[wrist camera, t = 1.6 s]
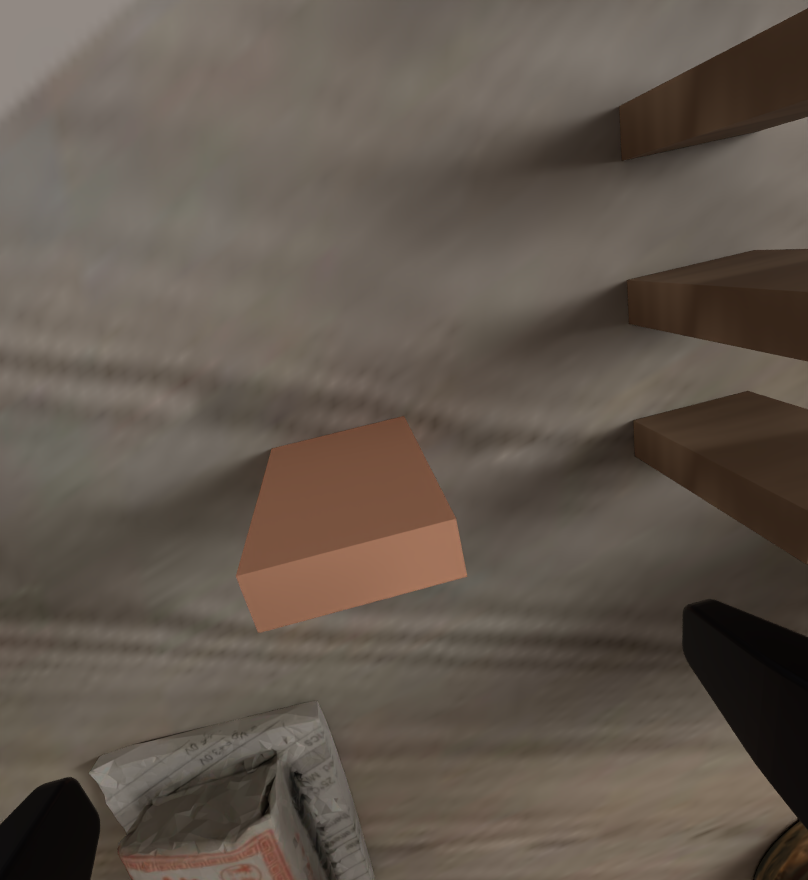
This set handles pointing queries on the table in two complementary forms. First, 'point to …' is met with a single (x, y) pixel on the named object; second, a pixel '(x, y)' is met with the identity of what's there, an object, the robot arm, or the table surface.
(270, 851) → the packaged product
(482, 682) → the table surface
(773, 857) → the jar
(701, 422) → the domino
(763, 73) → the domino
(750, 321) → the domino
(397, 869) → the table surface
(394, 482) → the domino
